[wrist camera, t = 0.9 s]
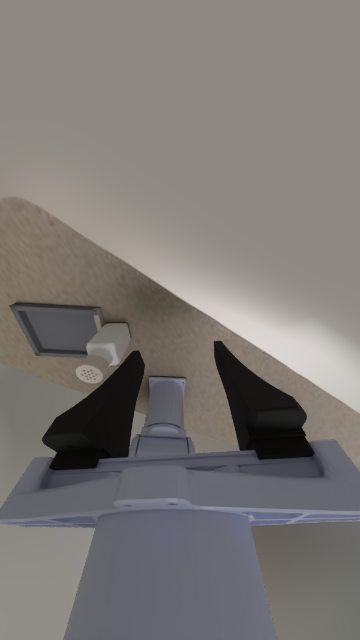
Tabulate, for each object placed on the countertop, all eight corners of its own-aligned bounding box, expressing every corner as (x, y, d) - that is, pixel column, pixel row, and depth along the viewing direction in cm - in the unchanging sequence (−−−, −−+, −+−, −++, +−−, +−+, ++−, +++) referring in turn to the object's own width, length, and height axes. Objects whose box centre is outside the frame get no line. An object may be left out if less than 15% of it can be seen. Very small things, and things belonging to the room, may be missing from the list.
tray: (110, 354, 28) (107, 359, 27) (41, 351, 27) (35, 355, 26) (100, 307, 23) (96, 310, 22) (17, 302, 22) (9, 305, 21)
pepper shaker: (110, 340, 26) (78, 386, 18) (105, 322, 24) (66, 362, 16) (132, 340, 26) (110, 385, 18) (128, 321, 24) (101, 362, 16)
